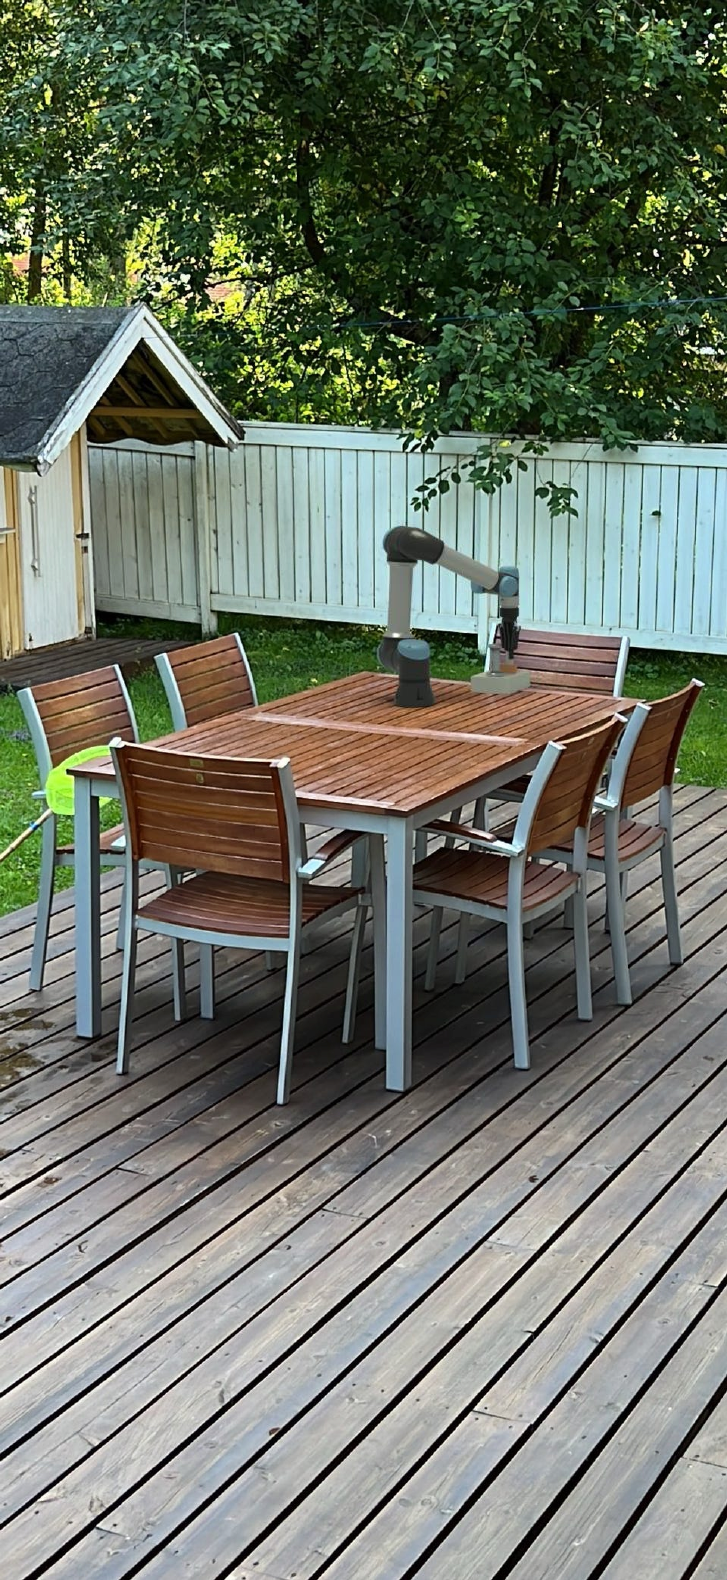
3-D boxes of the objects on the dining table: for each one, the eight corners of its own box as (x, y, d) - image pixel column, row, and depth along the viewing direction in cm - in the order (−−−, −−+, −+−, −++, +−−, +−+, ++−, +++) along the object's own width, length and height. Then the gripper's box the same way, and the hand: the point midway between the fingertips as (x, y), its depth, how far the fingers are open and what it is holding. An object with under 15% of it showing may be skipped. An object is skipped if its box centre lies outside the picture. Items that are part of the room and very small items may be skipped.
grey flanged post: (483, 684, 687) (483, 645, 684) (490, 681, 693) (490, 643, 690) (499, 685, 684) (499, 646, 681) (506, 682, 690) (506, 643, 687)
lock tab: (487, 671, 696) (487, 664, 696) (492, 670, 699) (492, 662, 699) (513, 673, 690) (513, 665, 690) (518, 672, 693) (518, 664, 693)
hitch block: (470, 692, 689) (470, 676, 688) (492, 684, 706) (492, 669, 705) (509, 694, 681) (509, 678, 680) (530, 686, 699) (529, 671, 697)
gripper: (491, 605, 695) (492, 666, 700) (510, 608, 684) (510, 670, 689) (508, 604, 698) (508, 664, 703) (526, 607, 687) (526, 668, 692)
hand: (509, 667), depth 696 cm, fingers closed
